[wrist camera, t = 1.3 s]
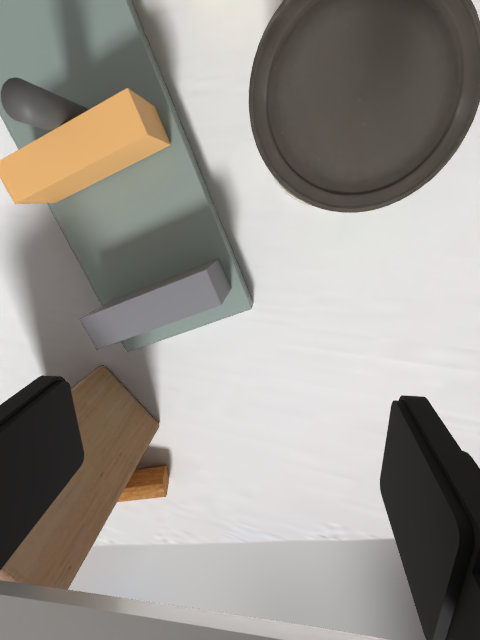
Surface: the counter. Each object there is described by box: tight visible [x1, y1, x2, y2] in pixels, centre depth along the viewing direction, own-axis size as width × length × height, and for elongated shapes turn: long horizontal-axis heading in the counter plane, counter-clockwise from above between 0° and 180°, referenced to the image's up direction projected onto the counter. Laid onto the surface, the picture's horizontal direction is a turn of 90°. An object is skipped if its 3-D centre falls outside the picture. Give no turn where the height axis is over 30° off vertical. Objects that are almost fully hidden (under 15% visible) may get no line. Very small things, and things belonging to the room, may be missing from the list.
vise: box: [0, 0, 253, 352], centre depth 28 cm, size 14×30×7 cm, turn 22°
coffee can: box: [249, 0, 480, 212], centre depth 22 cm, size 10×10×14 cm
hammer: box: [117, 465, 169, 502], centre depth 42 cm, size 14×2×30 cm
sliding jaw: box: [0, 77, 171, 204], centre depth 25 cm, size 12×5×8 cm, turn 112°
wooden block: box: [0, 366, 159, 590], centre depth 32 cm, size 10×10×20 cm
